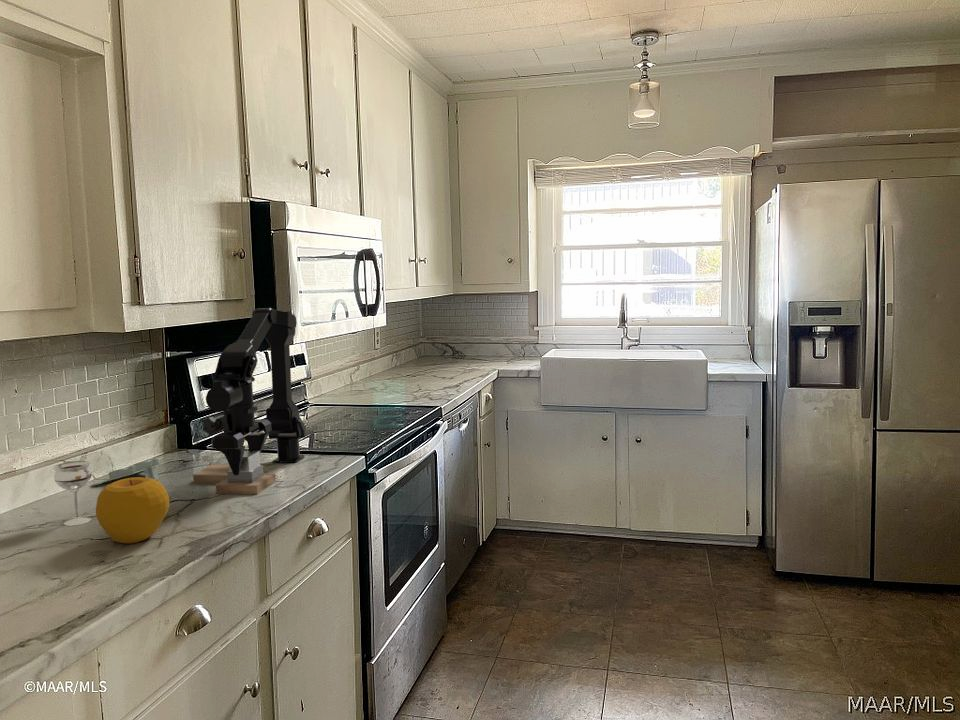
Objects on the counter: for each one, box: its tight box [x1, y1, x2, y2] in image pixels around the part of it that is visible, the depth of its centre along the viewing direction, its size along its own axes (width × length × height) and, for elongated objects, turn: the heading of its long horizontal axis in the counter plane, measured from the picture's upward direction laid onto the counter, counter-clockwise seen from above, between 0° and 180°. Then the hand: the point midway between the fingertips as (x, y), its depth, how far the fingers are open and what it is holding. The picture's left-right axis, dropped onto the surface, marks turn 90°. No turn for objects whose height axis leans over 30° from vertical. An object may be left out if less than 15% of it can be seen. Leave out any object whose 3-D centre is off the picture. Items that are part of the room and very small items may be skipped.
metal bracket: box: [90, 457, 167, 487], centre depth 185 cm, size 14×6×15 cm
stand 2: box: [215, 472, 277, 495], centre depth 175 cm, size 10×10×2 cm
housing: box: [227, 450, 265, 483], centre depth 175 cm, size 6×6×6 cm
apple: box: [95, 476, 170, 545], centre depth 143 cm, size 13×13×11 cm
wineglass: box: [53, 460, 92, 527], centre depth 154 cm, size 7×7×12 cm
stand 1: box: [192, 463, 229, 484], centre depth 184 cm, size 10×10×2 cm
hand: (245, 469), depth 175 cm, fingers open, 9 cm apart
